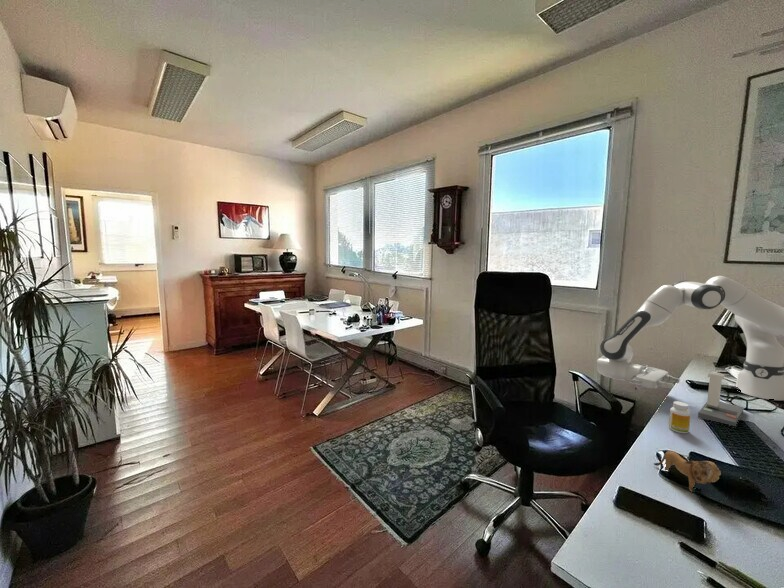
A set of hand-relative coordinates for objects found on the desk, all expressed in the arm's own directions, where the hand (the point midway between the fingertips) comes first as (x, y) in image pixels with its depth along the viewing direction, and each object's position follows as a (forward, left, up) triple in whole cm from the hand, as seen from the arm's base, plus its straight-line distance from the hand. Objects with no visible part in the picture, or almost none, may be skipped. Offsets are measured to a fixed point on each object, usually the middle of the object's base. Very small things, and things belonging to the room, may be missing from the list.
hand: (676, 383), depth 138 cm
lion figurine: (+63, +16, -9) cm, 65 cm away
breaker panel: (0, +14, -8) cm, 16 cm away
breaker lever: (0, +12, -6) cm, 13 cm away
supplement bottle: (+28, +7, -9) cm, 30 cm away
